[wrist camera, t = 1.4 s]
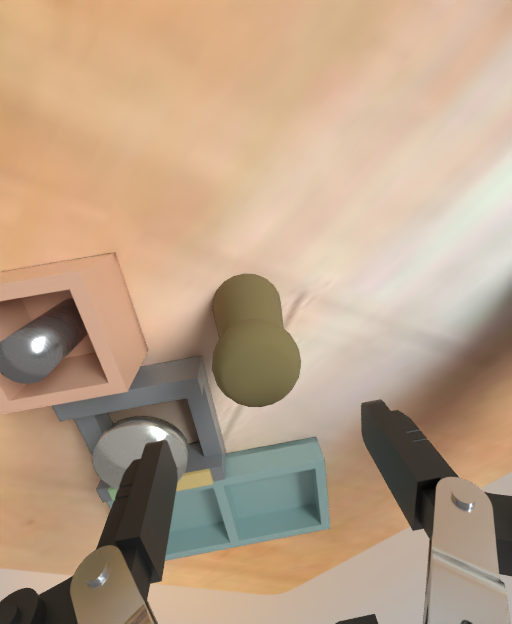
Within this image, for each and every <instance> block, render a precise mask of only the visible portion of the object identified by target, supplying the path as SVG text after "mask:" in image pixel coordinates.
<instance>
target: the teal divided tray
mask: <svg viewBox="0 0 512 624" xmlns="http://www.w3.org/2000/svg"><path fill="white" fill-rule="evenodd" d="M107 503H108V505H109V506H110V508H111V507H112V504H113V501H108V502H107ZM325 529H330V517H329V506H328V494H327V483H326V471H325V460H324V457H323V454H322V451H321V449H320V446H319V443H318V440H317V438H316V437H313V438H307V439H302V440H297V441H291V442H286V443H281V444H275V445H270V446H265V447H259V448H254V449H249V450H243V451H238V452H233V453H227V454H226V475H225V479H224V480H219V481H214V482H213V484H212V485H207V486H202V487H197V488H191V489H186V490H181V491H176V495H175V501H174V507H173V513H172V520H171V526H170V532H169V538H168V544H167V550H166V556H165V561H167V560H172V559H177V558H182V557H187V556H192V555H197V554H202V553H207V552H213V551H218V550H223V549H228V548H233V547H238V546H243V545H248V544H254V543H259V542H264V541H269V540H274V539H279V538H284V537H289V536H294V535H300V534H305V533H310V532H315V531H320V530H325Z"/></svg>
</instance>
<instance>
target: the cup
mask: <svg viewBox="0 0 512 624" xmlns="http://www.w3.org/2000/svg"><path fill="white" fill-rule="evenodd" d="M66 299H74V301H75V303H76V306H77V308H78V311H79V313H80V315H81V318H82V320H83V323H84V325H85V327H86V330H87V332H88V335H87V336H86V337H85V338H84V339H83V340H82V341H81V342H80V343H79V344H78V345H77V346H76V347H75V348H74V349H73V350H72V351H71V352H70V353H69V354H68V355H67V356H66V357H65V358H64V359H63V360H62V361H61V362H60V363H59V364H58V365H57V366H56V367H55V368H54V369H53V370H52V371H51V372H50V373H49V374H48V375H47V376H46V377H45V378H44V379H43V380H41V381H39V382H36V383H31V384H23V383H18V382H14V381H12V380H10V379H8V378H6V377H5V376H3V375H2V374H1V373H0V413H1V415H2V414H8V413H13V412H19V411H24V410H30V409H35V408H41V407H46V406H52V405H57V404H63V403H68V402H74V401H80V400H85V399H91V398H96V397H102V396H107V395H113V394H118V393H124V392H128V390H129V388H130V386H131V384H132V382H133V380H134V378H135V376H136V374H137V372H138V370H139V368H140V366H141V364H142V362H143V360H144V358H145V356H146V354H147V352H148V348H147V345H146V342H145V339H144V336H143V333H142V330H141V327H140V324H139V321H138V318H137V316H136V313H135V310H134V307H133V304H132V301H131V298H130V295H129V292H128V289H127V286H126V283H125V280H124V277H123V274H122V271H121V268H120V265H119V262H118V259H117V256H116V253H115V252H114V253H108V254H102V255H97V256H91V257H85V258H79V259H73V260H67V261H61V262H55V263H49V264H43V265H37V266H32V267H26V268H20V269H14V270H8V271H2V272H0V341H2V340H3V339H5V338H7V337H8V336H10V335H11V334H13V333H14V332H16V331H17V330H19V329H20V328H22V327H23V326H25V325H27V324H28V323H30V322H31V321H33V320H34V319H36V318H37V317H39V316H40V315H42V314H43V313H45V312H47V311H48V310H50V309H51V308H53V307H54V306H56V305H57V304H59V303H60V302H62V301H64V300H66Z"/></svg>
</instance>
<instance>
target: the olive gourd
mask: <svg viewBox="0 0 512 624" xmlns="http://www.w3.org/2000/svg"><path fill="white" fill-rule="evenodd" d="M213 313H214V318H215V322H216V326H217V331H218V335H219V341H218V343H217V345H216V347H215V350H214V352H213V363H212V371H213V374H214V377H215V380H216V383H217V385H218V387H219V388H220V389H221V391H222V392H223V393H224V394H225V395H226V396H227V397H229V398H230V399H232V400H233V401H235V402H236V403H238V404H241V405H245V406H248V407H263V406H267V405H271V404H274V403H276V402H277V401H279V400H281V399H283V398H284V397H285V396H286V395H287V394H288V393H289V392H290V391H291V390H292V388H293V387H294V385H295V383H296V382H297V380H298V378H299V373H300V368H301V359H300V354H299V349H298V347H297V345H296V343H295V341H294V340H293V338H292V336H291V335H290V334H289V333H288V332H287V331H286V330H284V327H283V318H282V309H281V302H280V297H279V293H278V292H277V290H276V288H275V287H274V285H273V284H272V283H270V282H269V281H268V280H267V279H266V278H263V277H261V276H258V275H256V274H241V275H237V276H233V277H232V278H230V279H228V280H227V281H225V282H224V283H223V284H222V285H221V286H220V287H219V289H218V290H217V292H216V294H215V297H214V299H213Z"/></svg>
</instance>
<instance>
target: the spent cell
mask: <svg viewBox="0 0 512 624" xmlns="http://www.w3.org/2000/svg"><path fill="white" fill-rule="evenodd" d="M87 335H88V332H87V330H86V327H85V325H84V323H83V320H82V318H81V315H80V313H79V311H78V308H77V306H76V303H75V301H74V299H66V300H64V301H62V302H60V303H59V304H57V305H56V306H54V307H53V308H51V309H50V310H48V311H47V312H45V313H43V314H42V315H40V316H39V317H37V318H36V319H34V320H33V321H31V322H30V323H28V324H27V325H25V326H23V327H22V328H20V329H19V330H17V331H16V332H14V333H13V334H11V335H10V336H8V337H7V338H5V339H3V340H2V341H0V373H1V374H2V375H3V376H5V377H6V378H8V379H10V380H12V381H14V382H18V383H23V384H31V383H36V382H39V381H41V380H43V379H44V378H45V377H46V376H47V375H48V374H49V373H50V372H51V371H52V370H53V369H54V368H55V367H56V366H57V365H58V364H59V363H60V362H61V361H62V360H63V359H64V358H65V357H66V356H67V355H68V354H69V353H70V352H71V351H72V350H73V349H74V348H75V347H76V346H77V345H78V344H79V343H80V342H81V341H82V340H83V339H84V338H85V337H86V336H87Z"/></svg>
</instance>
